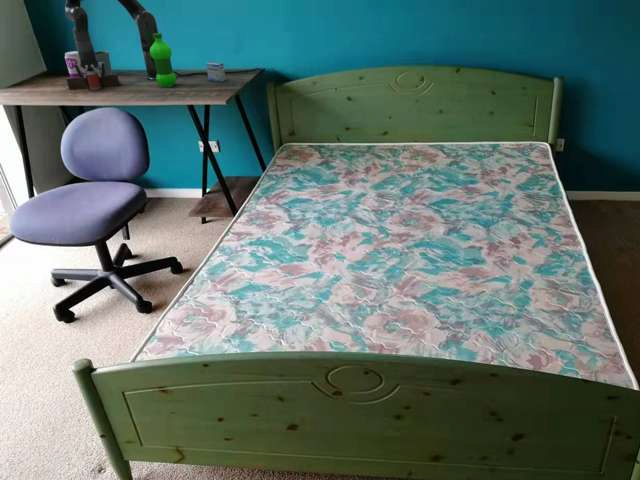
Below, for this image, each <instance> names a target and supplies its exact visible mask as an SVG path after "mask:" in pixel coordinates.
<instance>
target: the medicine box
mask: <svg viewBox="0 0 640 480" xmlns="http://www.w3.org/2000/svg"><path fill="white" fill-rule="evenodd" d="M205 66H206V72H207V73H208V74H207V79H208V81H209V82H216V83H217V82H218V83H223V82H225V81H226V73H225V72H226V71H225V66H224V63H223V62H222V63H221V62H212V61H211V62H207V63H206V65H205Z"/></svg>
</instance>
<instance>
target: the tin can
mask: <svg viewBox="0 0 640 480" xmlns="http://www.w3.org/2000/svg"><path fill="white" fill-rule="evenodd" d="M86 73H87V74H86V76H87V80H88V84H89V87H90V88H89V90H90V91H98V90H99V91H100V90H101V89H103V87H101V84H100V80H99V76H98V74H97V73H96V71H87V72H86Z"/></svg>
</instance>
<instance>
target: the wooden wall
mask: <svg viewBox="0 0 640 480" xmlns="http://www.w3.org/2000/svg"><path fill="white" fill-rule="evenodd" d="M86 77H87V76H86ZM102 78H103V83H102V85H101V87H102V88H105V87H115V86H116V87H117V86H120V83H121V82H120V80H119V77H118V73H117V72H116V73H112V74H105V75H103V76H102ZM65 79H66V82H67V86H68V89H69V91H72V90H83V89H90V87H89V86H87V85H86V84H85V81H84V78H82V77H72V78H71V77H66V78H65Z"/></svg>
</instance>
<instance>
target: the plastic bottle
mask: <svg viewBox="0 0 640 480" xmlns="http://www.w3.org/2000/svg"><path fill="white" fill-rule="evenodd" d="M153 38H154V39H155V42H154V43H153V45H152V46H151V47H150V55H151V57H152V58H153V59H154V61H155V66H156V70H157V77H156V80H155V81H156V82H157V84H158V85H160V86H161V87H163V88H171V87H173V86H174V84H176V81H177V76H176V75H177V74H176V73H174V72H173V71H174V70H173V65H172V60H171V58H172V48H171V46H170V45H169V44H167V42H165V41H163V40H162V38H163V35H162V33H161V32H158V33H154V34H153Z"/></svg>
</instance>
